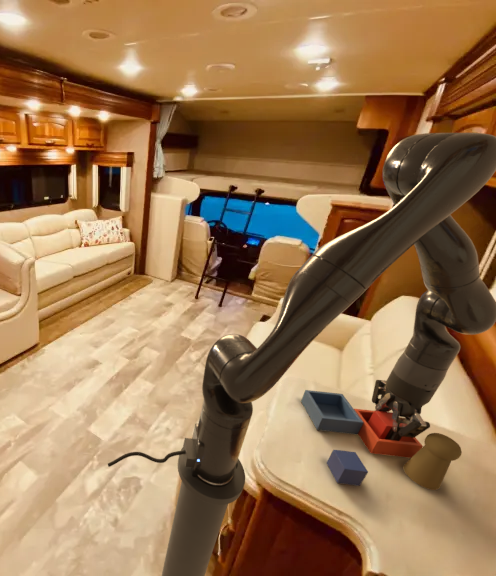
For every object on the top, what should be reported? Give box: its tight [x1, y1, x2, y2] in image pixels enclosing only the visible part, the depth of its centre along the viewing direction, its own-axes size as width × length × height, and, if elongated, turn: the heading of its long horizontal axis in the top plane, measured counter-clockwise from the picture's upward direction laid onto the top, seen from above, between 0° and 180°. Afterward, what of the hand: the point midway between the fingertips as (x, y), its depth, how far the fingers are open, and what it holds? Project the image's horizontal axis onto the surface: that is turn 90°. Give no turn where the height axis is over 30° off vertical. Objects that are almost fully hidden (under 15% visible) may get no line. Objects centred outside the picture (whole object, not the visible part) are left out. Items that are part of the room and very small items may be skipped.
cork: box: [402, 432, 463, 491], centre depth 66 cm, size 6×6×11 cm
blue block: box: [326, 449, 369, 487], centre depth 67 cm, size 4×4×4 cm
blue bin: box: [300, 389, 364, 436], centre depth 81 cm, size 9×9×4 cm
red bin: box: [353, 408, 424, 459], centre depth 75 cm, size 9×9×4 cm
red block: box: [368, 410, 402, 441], centre depth 74 cm, size 4×4×4 cm
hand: (383, 431), depth 75 cm, fingers closed on red block, 4 cm apart
